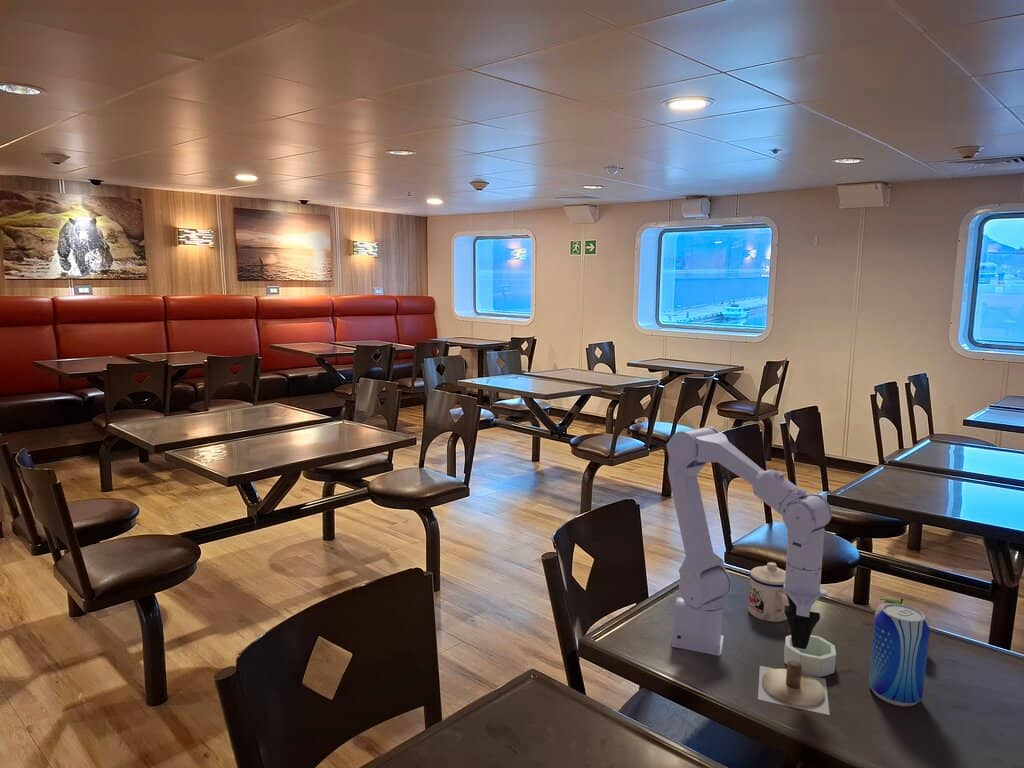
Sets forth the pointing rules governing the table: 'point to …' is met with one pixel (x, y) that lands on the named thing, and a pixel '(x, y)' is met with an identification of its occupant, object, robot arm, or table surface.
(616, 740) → the table surface
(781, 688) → the lid
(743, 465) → the robot arm
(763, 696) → the mat
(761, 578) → the teacup with lid
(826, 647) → the bowl
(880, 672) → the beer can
